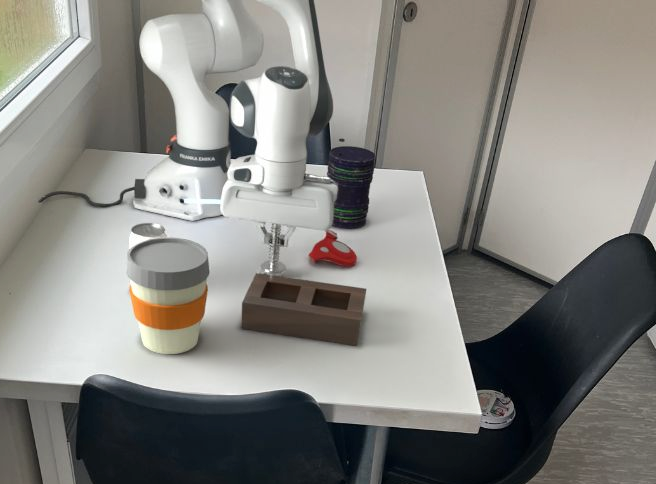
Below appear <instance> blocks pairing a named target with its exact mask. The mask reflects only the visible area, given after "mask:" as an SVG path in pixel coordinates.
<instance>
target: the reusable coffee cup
mask: <svg viewBox="0 0 656 484" xmlns="http://www.w3.org/2000/svg"><path fill="white" fill-rule="evenodd" d="M209 261H210V260H209V253H208V251H207V248H205V247H204V246H203V245H201V244H200V243H199V242H196V241H193V240H190V239H186V238H180V237H172V236H171V237H168V236H167V237H163V238H154V239H148V240H145V241H142V242H139V243H137V244H135V245H134V246H132V247H131V248H130V247H129V249H128V251H127V257H126V276H127V278H129V282H130V284H129V287H128V289H129V295H130V301H131V305H132V310H133V316H134V318H135V319H136V321H138V322H137V323H138V326H139V331H140V336H141V342H142V344H143V346H144V347H145V348H147V349H148V350H149V351H151V352H154V353H156V354H160V355H178V354H182V353H185V352H186V353H187V352H188V351H190V350H192V349H193V348H194V347H196V346H197V344H198V341H199V335H200V329H201V328H200V327H201V321H202V319H203V318H204V316H205V312H206V305H207V298H208V292H209V286H208V284H207V279H208V278H209V276H210V262H209Z"/></svg>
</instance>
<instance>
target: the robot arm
mask: <svg viewBox="0 0 656 484" xmlns="http://www.w3.org/2000/svg"><path fill="white" fill-rule="evenodd" d="M255 1H256V2H258V3H260V4H262V5H265V6H267V7H269V8H270V9H272V10H274V11H275V12H277V13H278V14H279V15H280V16H281V17H282V18H283V20H284V21H285V23H286V25H287V28H288V31H289V36H290V37H289V38H290V43H291V50H292V54H293V60H294V66H295V68H293V67H290V66H284V65H281V66H280V65H279V66H271V67H269V68H267V69H265V70H264V71H263V72H262V74H261V76H259V77H254V78H253V77H252V78H248V79H244V80H240V82H239V83H237V85H236V86H235V87H234V89H233V90H232V92H231V94H230V97H229V106H228V103H227V102H226V100H225V99H224V98H223V97H222V96H221V95H219V94H217V93H215V92H214V91H212V90H210V89H208V88H207V84H206V76H207V75H209V74H210V75H211V74H212V75H213V74H225V73H236V72H239V71H243V70H247V69H249V68H252V67H254V66H256V65H257V64H258V62H259V61H260V59H261V57H262V54H263V53H264V47H265V46H264V45H265V43H264V42H265V41H264V40H265V39H264V35H263V30H262V27H261V25H260V24H259V22H258V21H257V20H256V19H255V17H253V16H252V15H251V14H250V13H249V11H248V10H247V8H246V7H245V5H244V3H243V0H201V5H202V6H201V7H202V9H201V12H199V13H176V14H175V13H173V14H166V15H163V16H162V15H161V16H158V17H155V18H152V19H148V20H147V21H146V23H145V24H144V26H143V27H142V29H141V32H140V35H139V53H140V55H141V58H142V61H143V62H144V64H145V66H146V67H147V68H148V69H149V70H150V72H152V73H153V74H154V75H156V76H157V77H158V78H159V79H160V80H161V81H162V82H163V83H164V84H165V86H166V88H167V89H168V91H169V94H170V95H171V98H172V102H173V105H174V114H175V125H176V128H175V129H176V134H174V135H173V137H171V138H170V142H169V143H168V144H167V147H166V148H165V149H166V154H168V156H167V157H165V158H164V159H163V160H162V161H160V162H159V163H157V164H156V165H154V167H152V168H151V169H150V170H149V171H148V172H147V174H146V175H145V177H144V178H135V179H134V185H133V186H132V187H128V188H125V189H124V190H122V191H121V192H120V194H119V199H118V200H117V201H115V202H111V203H101V202H94V201H92V200H91V199H90V197H89V196H88V195H87V194H85V193H82V192H77V191H76V192H75V191H68V190H58V191H57V190H56V191H51V192H49V193H47V194H45V195H44V196H45V197H43V196H42V197H41V198H39V199H38V200H37V203H43V202H44V201H45V200H47V199H48V198H50V197H53V196H57V195H68V196H77V197H82V198H83V199H85V200H86V202H87V203H88V204H89V205H91V206H93V207H100V208H111V207H113V206H117V205H119V204H121V203H122V202H123V200H124V196H125V194H126V193H129V192H133V191H134V192H133V193H134V195H133V198H132V206H133V208H134V209H137V210H141V211H146V212H151V213H154V214H159V215H164V216H167V217H172V218H173V217H174V218H177V219H182V220H186V221H191V222H194V221H195V222H196V221H199V220H202V219H205V218H214V217H219V216H222V217H225V218H230V219H236V220H244V221H252V222H256V229H257V230H258V233H259V234H260V236H261V245H265V246H270V245H271V244H270V242H271V240H270V239H271V237H270V236H271V233H272V232H268V231H267V228H266V226H265V225H266V224H271V225H272V224H280V225H281V226H286V231H287V232H286V233H285V234H282V233H281V234H280V235H281V236H280V240H279V242H280V243H279V247H280V248H288V246H289V243H290V242H289V241H290V238H291V237H292V235H293V234H294V232H295V231H296V229H297V228H301V229H302V228H303V229H309V230H310V229H311V230H316V231H317V230H318V231H323V232H326V231H327V230H330V229H331V228H332V223H333V218H334V202H335V201H336V199H337V197H338V185H337V183H336V182H335V181H333V180H331V178H330V177H327V175H326V176H325V175H324V176H321V175H317V174H310V173H306V172H307V161H308V151H307V150H308V149H307V137H316V136H318V135H319V134H320V133H321V132H323V130H324V129H325V128H326V127H327V126H328V124H329V122H330V121H331V119H332V118H333V114H334V99H333V94H332V91H331V87H330V83H329V80H328V77H327V73H326V67H325V61H324V55H323V54H324V53H323V49H322V41H321V35H320V29H319V22H318V15H317V10H316V4H315V0H255ZM230 123H231V126H233V128H234V129H235V130H236V131H237V132H238V133H240V134H241V136H244V137H246V138H248V139H251V138H252V139H255V140H256V147H255V151H254V154H250V155H245V156H244V155H243V156H239V157H237V158H236V159H234V160H233V161H231V160H232V151H231V142H230V140H229V138H230V135H229V133H230ZM330 182H332V183H330Z"/></svg>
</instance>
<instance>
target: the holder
mask: <svg viewBox="0 0 656 484" xmlns="http://www.w3.org/2000/svg"><path fill="white" fill-rule="evenodd" d="M366 295H367V288H366V287H365V288H364V287H358V286H351V285H344V284H336V283H329V282H322V281H315V280H309V279H301V278H294V277H288V276H281V275H280V276H274V275H267V274H265V273H260V272H259V273H258V272H255V275H254V276H253V279H252V281H251V282H250V285H249V286H248V289H247V291H246V294H245V295H244V298H243V299H242V302H241V318H240V319H241V320H240V321H241V322H240V328H241V329H243V330H250V331H256V332H257V331H258V332H261V333H271V334H276V335H281V336H282V335H284V336H289V337H296V338H303V339H309V340H315V341H322V342H330V343H336V344H343V345H349V346H355V347H356V346H358V342H359V337H360V331H361V326H362V321H363V316H364V308H365V302H366Z"/></svg>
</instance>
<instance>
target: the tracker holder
mask: <svg viewBox="0 0 656 484" xmlns="http://www.w3.org/2000/svg"><path fill="white" fill-rule="evenodd" d="M308 257H309V258H310V259H311V260H312V262H313V263H314V264H315V263H317V262H318V261H328V262H331V263H333V264H336V265H339V266H343V267H352V266H354V265H356V262H357V260H358V256H357V253H356V252H355V251H354V249H352V248H351V247H350V246H349V245H347V244H345V243H344V242H342V241H340V240H338V233H337V232H335V231H334V230H330V229H328V230H327V231H325V236H324V238H323V239H321V240H319V241H318V242H316V243H315V244H314V245H313V247H312V249H311V251H310V253H308Z"/></svg>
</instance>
